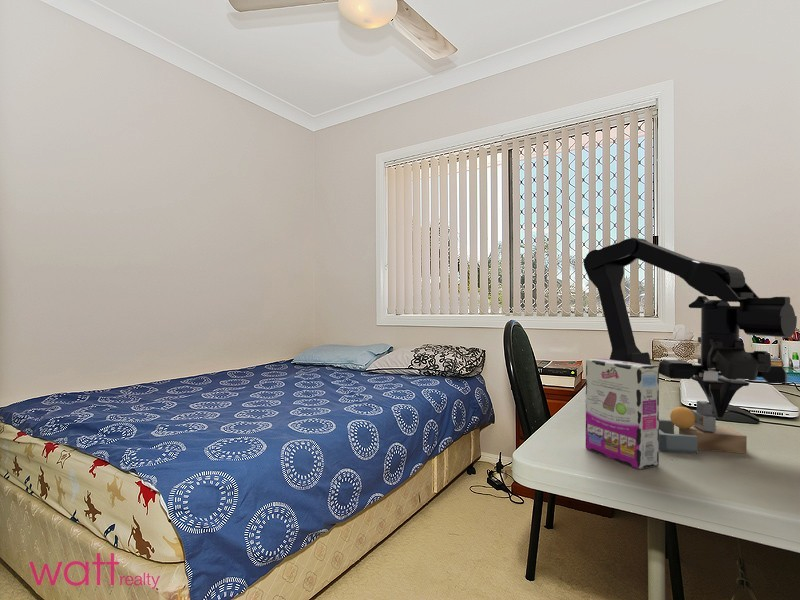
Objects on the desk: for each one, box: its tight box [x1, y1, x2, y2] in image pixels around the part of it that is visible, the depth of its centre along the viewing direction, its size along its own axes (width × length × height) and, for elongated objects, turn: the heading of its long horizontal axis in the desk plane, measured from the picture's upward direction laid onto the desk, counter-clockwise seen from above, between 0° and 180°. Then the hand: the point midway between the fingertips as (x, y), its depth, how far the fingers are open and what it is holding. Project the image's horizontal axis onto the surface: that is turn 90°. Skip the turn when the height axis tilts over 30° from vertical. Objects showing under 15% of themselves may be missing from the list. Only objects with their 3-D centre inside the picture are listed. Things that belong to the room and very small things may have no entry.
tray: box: [659, 418, 698, 455], centre depth 82 cm, size 6×11×3 cm, turn 168°
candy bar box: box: [585, 358, 660, 470], centre depth 74 cm, size 11×5×16 cm, turn 23°
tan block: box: [678, 425, 748, 454], centre depth 80 cm, size 8×6×3 cm
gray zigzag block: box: [690, 400, 717, 432], centre depth 81 cm, size 2×5×5 cm, turn 168°
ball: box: [669, 406, 696, 429], centre depth 81 cm, size 4×4×4 cm
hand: (718, 417), depth 80 cm, fingers closed
